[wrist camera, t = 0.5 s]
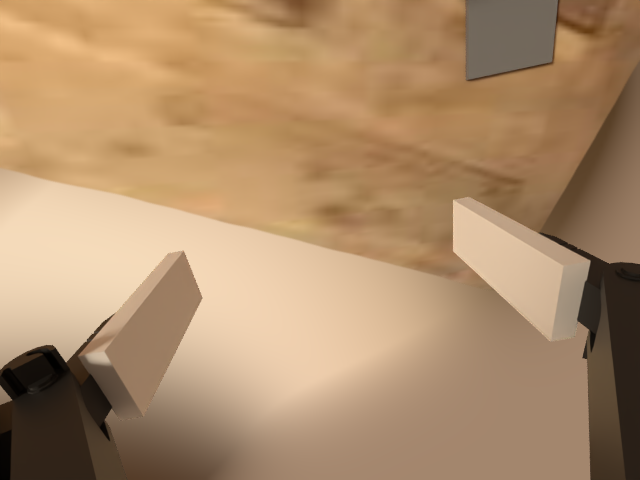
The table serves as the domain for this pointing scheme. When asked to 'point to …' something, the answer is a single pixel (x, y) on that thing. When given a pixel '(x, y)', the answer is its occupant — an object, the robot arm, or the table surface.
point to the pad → (508, 35)
